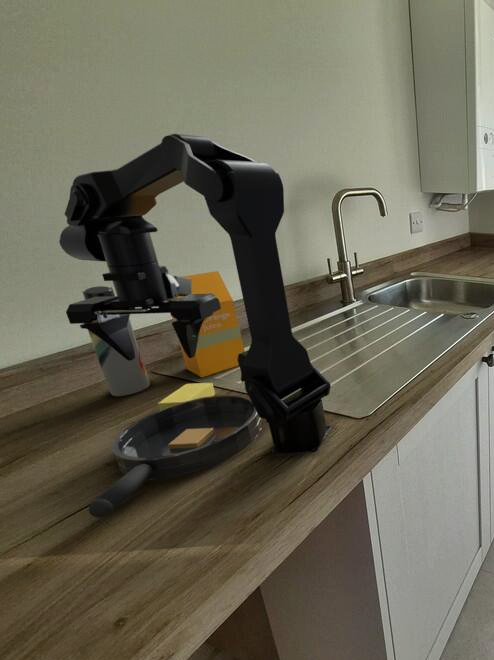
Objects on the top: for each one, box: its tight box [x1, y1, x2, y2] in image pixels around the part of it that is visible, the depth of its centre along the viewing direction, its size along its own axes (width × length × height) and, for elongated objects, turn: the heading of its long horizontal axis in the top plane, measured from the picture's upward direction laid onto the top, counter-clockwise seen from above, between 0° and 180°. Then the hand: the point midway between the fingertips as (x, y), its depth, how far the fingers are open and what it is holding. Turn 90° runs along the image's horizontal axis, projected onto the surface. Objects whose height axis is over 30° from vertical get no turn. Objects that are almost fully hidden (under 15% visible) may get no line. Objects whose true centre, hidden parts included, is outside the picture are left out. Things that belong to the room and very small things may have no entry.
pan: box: [111, 394, 263, 481], centre depth 61 cm, size 17×17×4 cm
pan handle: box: [88, 464, 153, 518], centre depth 49 cm, size 2×8×2 cm, turn 4°
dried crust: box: [168, 428, 214, 449], centre depth 61 cm, size 4×4×1 cm
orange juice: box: [169, 270, 246, 378], centre depth 85 cm, size 8×9×20 cm
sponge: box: [157, 382, 216, 410], centre depth 71 cm, size 7×4×3 cm, turn 4°
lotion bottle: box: [82, 285, 151, 397], centre depth 75 cm, size 6×6×20 cm
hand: (162, 358), depth 66 cm, fingers open, 9 cm apart
